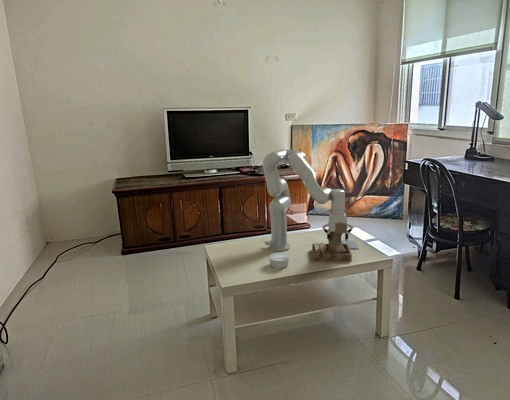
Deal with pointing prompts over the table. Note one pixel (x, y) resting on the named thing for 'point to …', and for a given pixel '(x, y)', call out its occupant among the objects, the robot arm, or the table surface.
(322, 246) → the offcut
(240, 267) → the table surface
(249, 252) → the table surface
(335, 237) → the decorative block
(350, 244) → the mat
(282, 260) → the ramekin
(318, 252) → the offcut
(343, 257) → the rack
